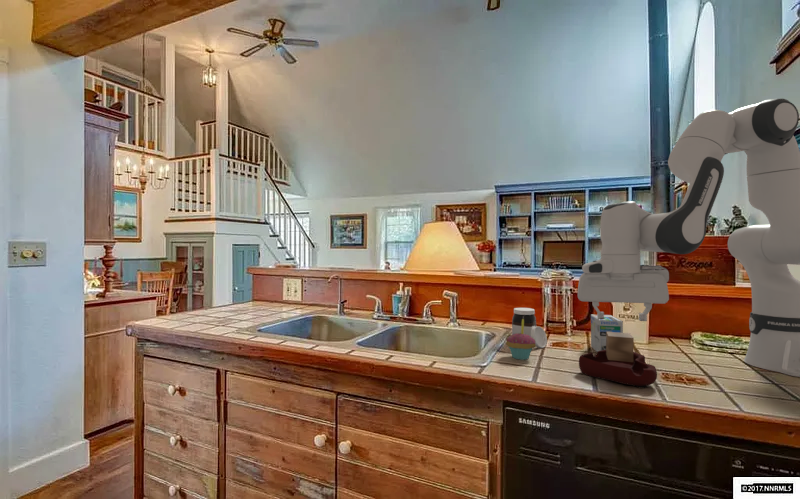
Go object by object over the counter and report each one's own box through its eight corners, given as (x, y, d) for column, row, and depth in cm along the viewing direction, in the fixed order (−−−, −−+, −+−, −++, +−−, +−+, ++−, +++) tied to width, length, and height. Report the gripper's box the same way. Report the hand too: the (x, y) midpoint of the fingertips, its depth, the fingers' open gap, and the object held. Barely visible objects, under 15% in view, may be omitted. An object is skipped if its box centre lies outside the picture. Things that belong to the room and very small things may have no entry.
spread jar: (515, 338, 141) (515, 306, 141) (548, 342, 136) (548, 308, 136) (508, 346, 131) (508, 311, 130) (545, 350, 126) (545, 314, 126)
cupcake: (511, 352, 124) (511, 313, 124) (539, 356, 119) (539, 316, 119) (501, 358, 117) (501, 318, 117) (530, 363, 112) (530, 321, 112)
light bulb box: (623, 356, 119) (623, 320, 119) (599, 355, 120) (599, 320, 120) (612, 347, 129) (612, 314, 129) (589, 346, 131) (589, 313, 130)
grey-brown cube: (629, 356, 103) (630, 333, 103) (633, 362, 98) (633, 338, 98) (606, 354, 105) (606, 331, 105) (608, 359, 100) (608, 336, 100)
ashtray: (575, 364, 113) (575, 346, 113) (640, 369, 108) (640, 351, 107) (583, 385, 96) (583, 365, 96) (661, 393, 91) (661, 371, 90)
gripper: (665, 264, 100) (666, 319, 100) (576, 265, 108) (577, 315, 108) (671, 266, 94) (673, 324, 94) (577, 266, 102) (578, 320, 102)
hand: (621, 319), depth 101 cm, fingers open, 8 cm apart
